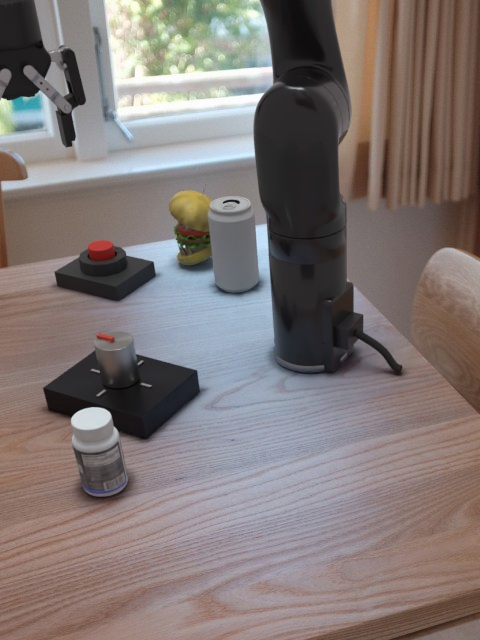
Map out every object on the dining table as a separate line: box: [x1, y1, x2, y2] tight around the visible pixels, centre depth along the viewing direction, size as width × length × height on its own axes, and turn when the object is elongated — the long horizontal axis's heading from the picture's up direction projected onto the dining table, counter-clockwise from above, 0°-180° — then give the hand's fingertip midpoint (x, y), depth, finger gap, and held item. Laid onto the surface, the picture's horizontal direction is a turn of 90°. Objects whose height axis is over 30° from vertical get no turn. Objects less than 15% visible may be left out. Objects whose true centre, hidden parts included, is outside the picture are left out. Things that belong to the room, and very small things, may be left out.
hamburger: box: [168, 183, 213, 266], centre depth 133 cm, size 8×7×12 cm
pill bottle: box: [70, 407, 129, 498], centre depth 93 cm, size 5×5×8 cm
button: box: [87, 239, 115, 261], centre depth 129 cm, size 4×4×2 cm
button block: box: [54, 245, 157, 302], centre depth 131 cm, size 11×9×4 cm
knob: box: [93, 330, 140, 388], centre depth 104 cm, size 4×4×5 cm
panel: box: [42, 350, 201, 440], centre depth 107 cm, size 14×11×3 cm
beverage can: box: [208, 195, 260, 294], centre depth 127 cm, size 6×6×12 cm
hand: (31, 151), depth 106 cm, fingers open, 8 cm apart
